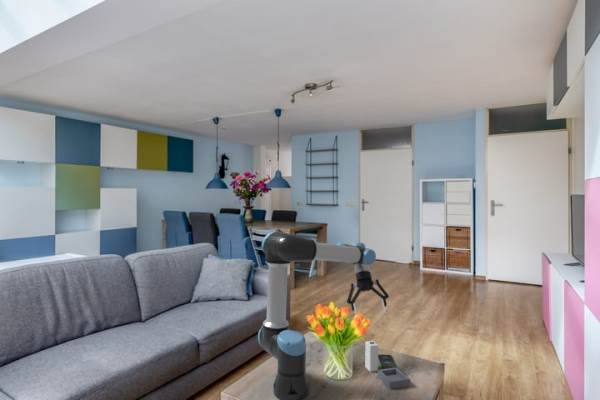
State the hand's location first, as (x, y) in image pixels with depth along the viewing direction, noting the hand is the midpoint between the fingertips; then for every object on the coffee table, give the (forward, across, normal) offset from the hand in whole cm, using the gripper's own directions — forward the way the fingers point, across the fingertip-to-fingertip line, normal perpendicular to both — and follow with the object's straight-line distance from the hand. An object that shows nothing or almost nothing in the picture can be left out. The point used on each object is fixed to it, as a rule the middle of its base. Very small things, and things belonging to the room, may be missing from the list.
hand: (370, 315), depth 169 cm
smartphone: (+20, -3, -16) cm, 26 cm away
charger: (+22, +4, -9) cm, 24 cm away
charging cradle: (+28, -4, -2) cm, 29 cm away
